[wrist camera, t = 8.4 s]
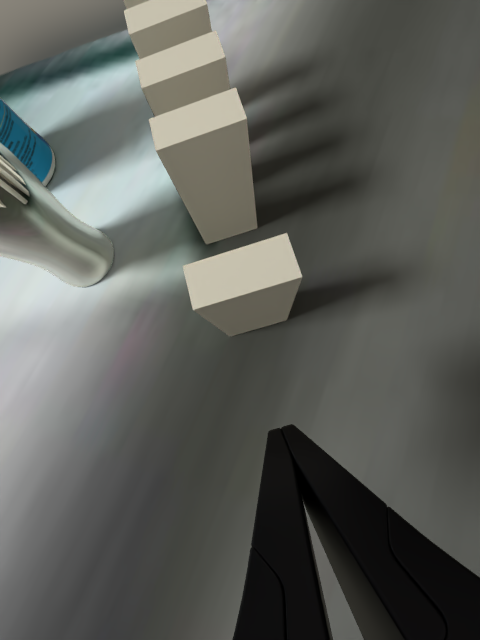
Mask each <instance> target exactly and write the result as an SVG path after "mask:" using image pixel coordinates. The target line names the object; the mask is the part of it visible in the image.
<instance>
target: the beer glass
mask: <svg viewBox="0 0 480 640" xmlns="http://www.w3.org/2000/svg"><path fill="white" fill-rule="evenodd" d="M0 257H5V258H9V259H13V260H17V261H20V262H24V263H28V264H31V265H34V266H37V267H39V268H41V269H44V270H46V271H47V272H49V273H51V274H52V275H54V276H55V277H57V278H58V279H60V280H61V281H63V282H64V283H66V284H68V285H71V286H74V287H87V286H91V285H93V284H95V283H97V282H98V281H100V280H101V279H102V278H103V277H104V276H105V275H106V274H107V273H108V271H109V270H110V268H111V266H112V263H113V259H114V248H113V245H112V242H111V240H110V239H109V238H108V237H107V236H106V235H105V234H104V233H103V232H101V231H99V230H98V229H96V228H94V227H92V226H90V225H88V224H86V223H84V222H82V221H81V220H79V219H78V218H76V217H75V216H74V215H73V214H72V213H70V212H69V211H68V210H67V209H66V208H65V207H64V206H63V205H62V204H61V203H60V202H59V201H58V200H57V199H56V197H55V196H54V195H53V194H52V193H51V192H50V191H49V190H48V189H47V188H46V187H45V186H44V185H43V183H42V182H41V181H40V180H39V179H38V178H37V177H36V176H35V175H34V174H33V173H32V172H31V171H30V170H29V169H28V168H27V167H26V166H25V165H24V164H23V163H22V162H21V161H20V160H19V159H18V158H17V157H16V156H15V155H14V154H13V153H12V152H11V151H10V150H9V149H8V148H7V147H6V146H4V145H3V144H2V143H1V142H0Z"/></svg>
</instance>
